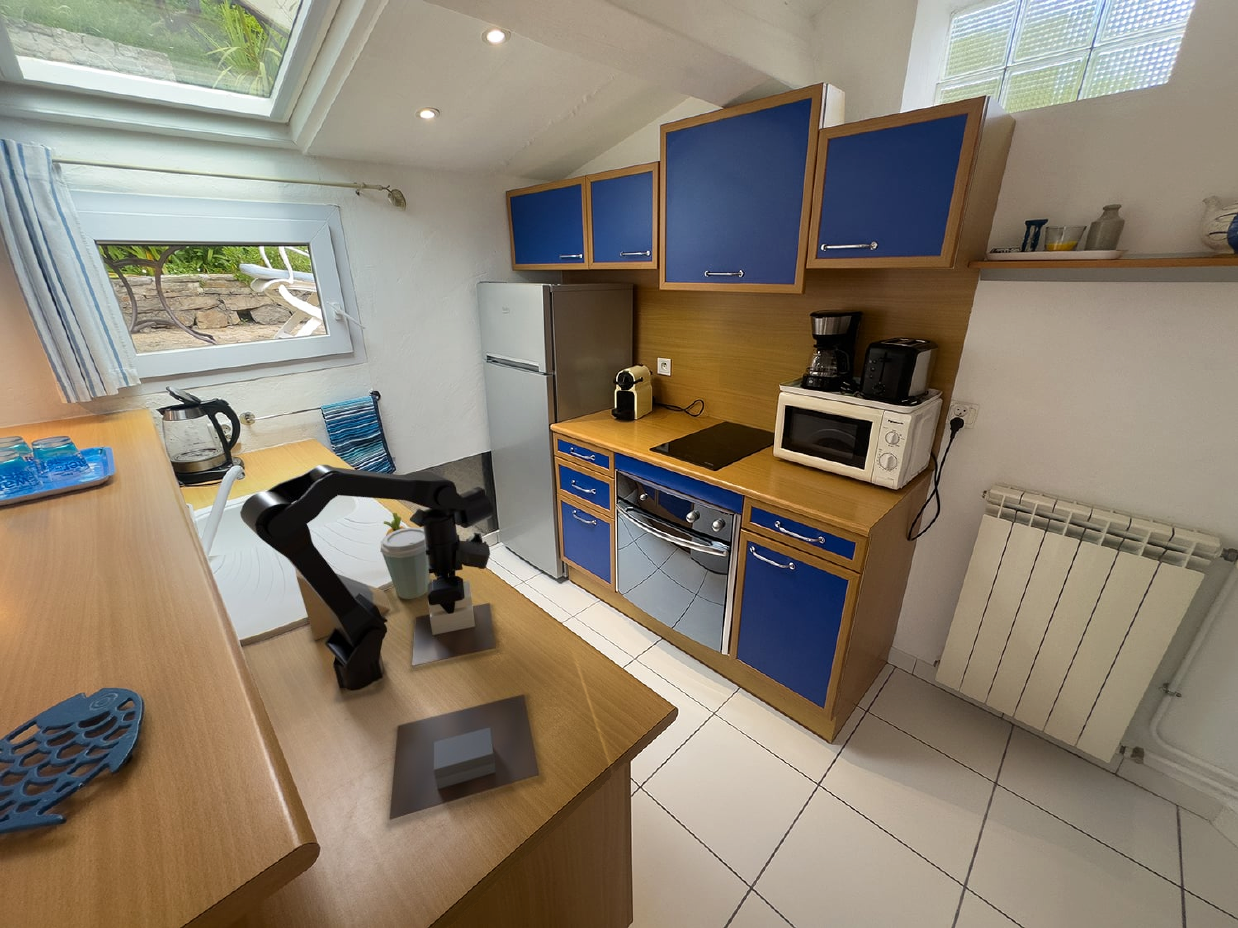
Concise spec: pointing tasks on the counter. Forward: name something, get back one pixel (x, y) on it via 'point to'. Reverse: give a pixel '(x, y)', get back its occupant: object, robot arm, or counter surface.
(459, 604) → the cream book
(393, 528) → the carrot
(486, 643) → the back board
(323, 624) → the sandwich container
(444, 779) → the grey books
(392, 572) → the disposable coffee cup
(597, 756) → the counter surface
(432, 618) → the cream books
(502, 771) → the front board
